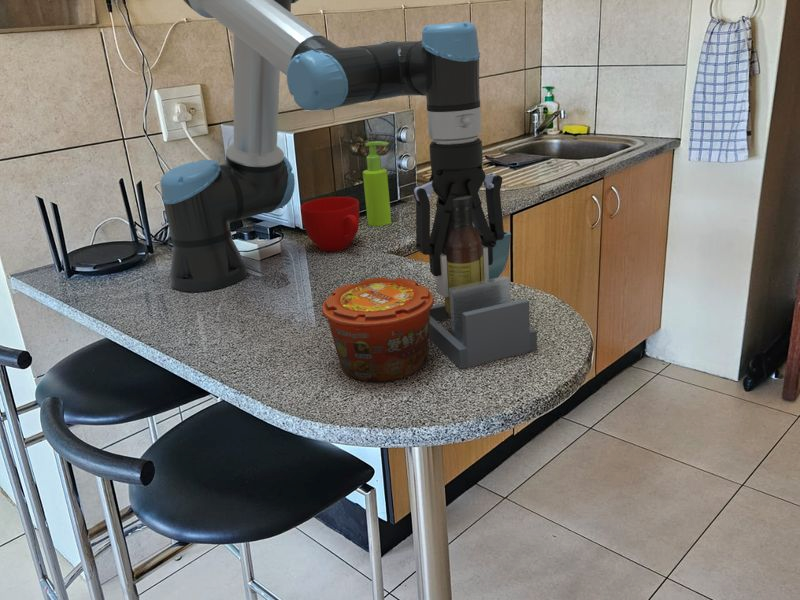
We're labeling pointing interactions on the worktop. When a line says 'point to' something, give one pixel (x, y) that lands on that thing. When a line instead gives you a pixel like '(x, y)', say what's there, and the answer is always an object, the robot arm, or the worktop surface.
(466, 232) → the sauce bottle
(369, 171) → the soap dispenser
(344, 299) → the food container
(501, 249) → the flower pot
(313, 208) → the ceramic cup
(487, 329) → the frame
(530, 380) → the worktop surface
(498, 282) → the bar
